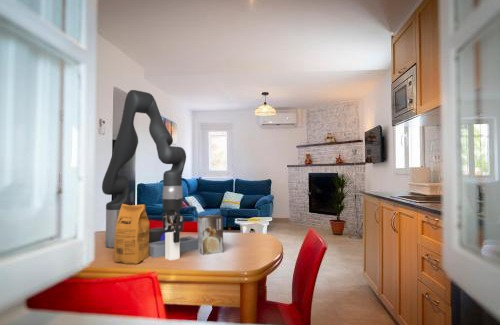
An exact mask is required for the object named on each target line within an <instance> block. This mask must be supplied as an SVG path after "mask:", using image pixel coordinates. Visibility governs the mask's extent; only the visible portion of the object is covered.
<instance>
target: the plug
mask: <svg viewBox="0 0 500 325" xmlns="http://www.w3.org/2000/svg"><path fill="white" fill-rule="evenodd" d="M173 233H174V232H167V233H165V256H164V257H165V258H164V259H165V260H168V261H174V260H178V259H180V258H181V257H180V255H181V253H180V238H181V236H180V235H181V234H180V233H181V232H180V233H179V242H178V243H174V242H173Z"/></svg>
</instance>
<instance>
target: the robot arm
mask: <svg viewBox="0 0 500 325" xmlns="http://www.w3.org/2000/svg"><path fill="white" fill-rule="evenodd" d="M123 105H124V106H123V110H122V116H121V122H120V125H119V129H118V132H117V136H116V139H115V141H114V142H115V143H114V146H113V151H112V154H111V158H110V161H109V164H108V167H107V169H106V172H105V174H104V177H103V180H102V185H101V189H102V193H103V194H104V195H108V196H115V195H116V197H115V198H114V199H113V200H111V201H109V202H107V203H106V205H105V247H106V248H112V249H113V248H114V239H115V229H116V224H117V219H118V216H119V212H120V209H121V205H122V204H126V205H129V204H128V203H129V195H130V194H129V193H130V182H129V177H128V176H127V175H125V174H119V172H120V170H121V169H122V168H123V167H124V166H125V165H126V164H127V163H128V162H129V161H131V160H132V159H133V157H134V156H135V154H136V151H137V148H138V145H139V136H138V134H137V131H136V128H135V125H134V124H135V122H134V121H135V117H136V113H139V114H146V115H147V116H148V118H149V120H150V121H149V124H148V125H149V127H148V130H149V131H148V132H149V134H150V136H151V138H152V140H153V142H154V143H155V146H156V151H157V157H158V159H159V161H160V162H161V163H163V164H164V165H171V168H170V169H168V170H166V171H164V172H163V175H162V176H163V178H162V180H163V182H162V184H163V186H162V187H163V188H162V210H163V211H165V212H162V213H161V221H162V227H163V228H165V230H166V233H167V232H172V228H173V232H174V233H173V242H174V243H178V242H179V233H181V232H183V231H184V225H185V223H184V222H185V216H184V215H181V213H180V210H183V186H182V185H183V181H182V180H183V172H184V168H185V165H186V161H187V154H186V153H187V152H186V150H185V149H184V148H183V147H181V146H174V145H173V146H172V144H173V143H174V142H173V141H174V139H173V136H172V134H171V133H170V131H169V129H168V128H167V126H166V125H165V123H164V120H163V118H162V115H161V112H160V110H159V107H158V104H157V101H156V99H155V97H154V96H153V95H152V94H151V93H150V92H146V91H142V90H137V89H130V90H129V91H128V92H127V94H126V96H125V100H124V104H123ZM175 227H176V228H175Z"/></svg>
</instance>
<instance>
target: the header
mask: <svg viewBox="0 0 500 325" xmlns="http://www.w3.org/2000/svg"><path fill="white" fill-rule="evenodd" d="M196 250H198V237H192V236H183V237H180V254H181V253H186V252H190V251H196ZM149 257H151V258H153V259H156V258H162V257H165V240H164V241H158V242H152V243H149Z"/></svg>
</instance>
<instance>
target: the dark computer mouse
mask: <svg viewBox="0 0 500 325" xmlns="http://www.w3.org/2000/svg"><path fill="white" fill-rule="evenodd" d="M175 228H176V227H175ZM172 232H173V228H172ZM165 233H166V230H165V228H163V226H162V227H156V228H149V243H152V242H158V241H164V240H165Z"/></svg>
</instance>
